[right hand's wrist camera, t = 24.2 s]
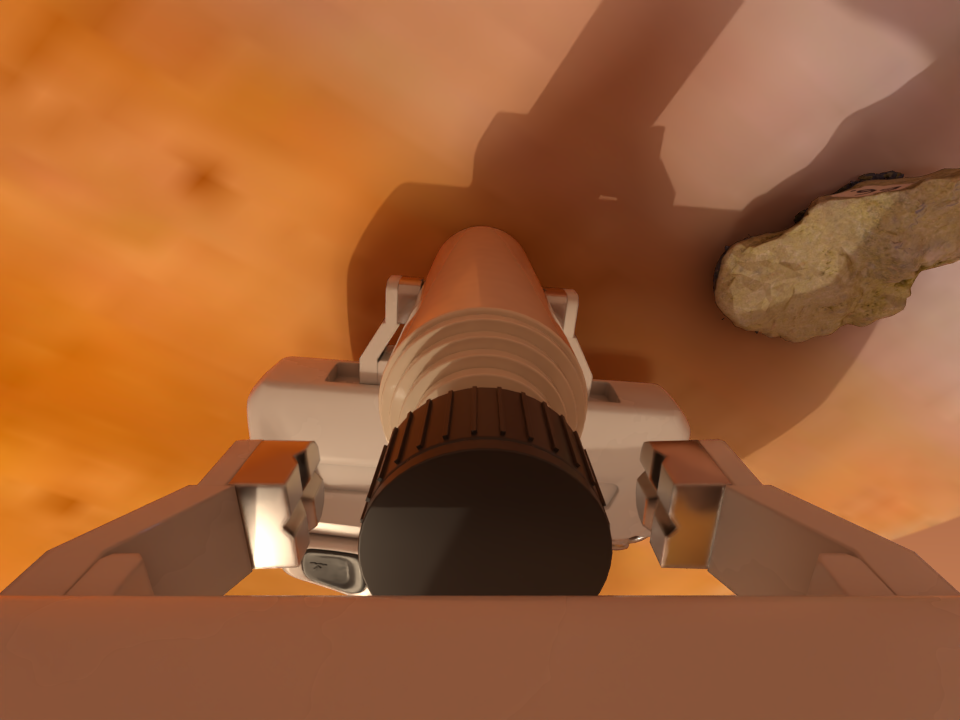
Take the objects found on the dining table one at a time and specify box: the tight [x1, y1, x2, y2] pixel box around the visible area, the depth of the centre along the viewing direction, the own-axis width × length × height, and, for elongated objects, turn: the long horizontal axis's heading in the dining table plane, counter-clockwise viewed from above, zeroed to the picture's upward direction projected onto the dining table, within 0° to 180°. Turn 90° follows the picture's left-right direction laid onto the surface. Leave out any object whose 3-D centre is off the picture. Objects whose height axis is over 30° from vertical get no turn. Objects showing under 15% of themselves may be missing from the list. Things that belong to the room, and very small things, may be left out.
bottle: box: [378, 226, 588, 443], centre depth 18 cm, size 5×5×20 cm
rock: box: [713, 168, 960, 343], centre depth 24 cm, size 11×6×10 cm
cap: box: [358, 386, 612, 596], centre depth 9 cm, size 4×4×2 cm
